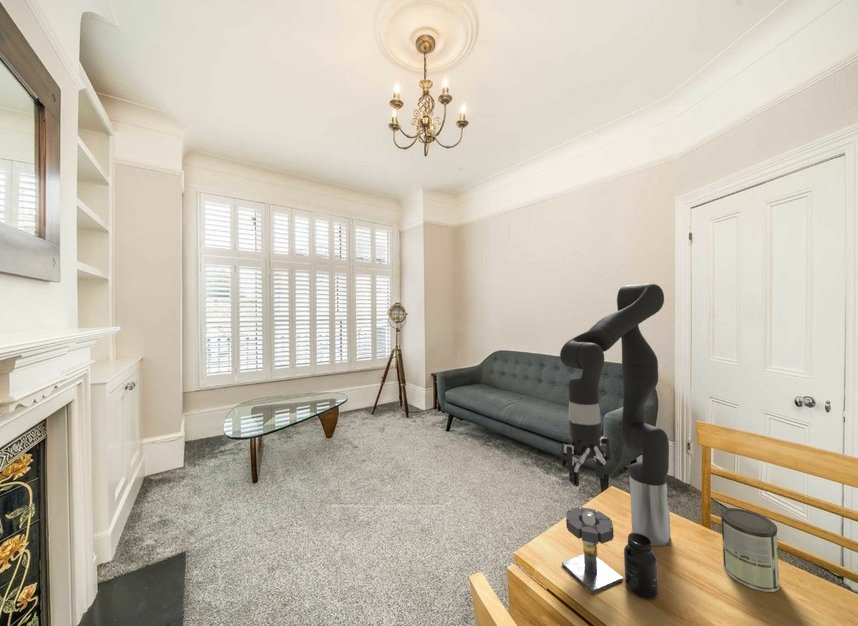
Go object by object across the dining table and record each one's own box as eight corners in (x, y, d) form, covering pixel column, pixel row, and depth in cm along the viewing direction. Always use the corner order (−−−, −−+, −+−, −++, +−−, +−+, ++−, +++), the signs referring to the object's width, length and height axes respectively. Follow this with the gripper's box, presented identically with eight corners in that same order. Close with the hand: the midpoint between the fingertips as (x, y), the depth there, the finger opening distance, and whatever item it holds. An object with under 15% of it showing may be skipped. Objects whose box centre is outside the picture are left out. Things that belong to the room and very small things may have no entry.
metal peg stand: (590, 554, 92) (587, 500, 93) (622, 580, 83) (619, 520, 83) (561, 565, 89) (559, 509, 89) (592, 594, 79) (589, 531, 80)
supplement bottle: (664, 602, 76) (661, 550, 77) (631, 598, 78) (629, 547, 78) (650, 579, 83) (648, 531, 83) (620, 575, 85) (618, 528, 85)
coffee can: (715, 557, 90) (712, 504, 90) (763, 565, 86) (761, 510, 86) (736, 587, 80) (733, 528, 80) (791, 597, 77) (788, 536, 77)
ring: (588, 512, 93) (587, 503, 93) (623, 535, 83) (622, 526, 83) (557, 522, 89) (557, 513, 89) (590, 548, 79) (590, 538, 79)
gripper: (593, 411, 92) (596, 469, 92) (552, 418, 87) (555, 480, 87) (617, 418, 85) (620, 481, 85) (574, 427, 80) (577, 494, 80)
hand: (587, 481), depth 86 cm, fingers open, 8 cm apart
